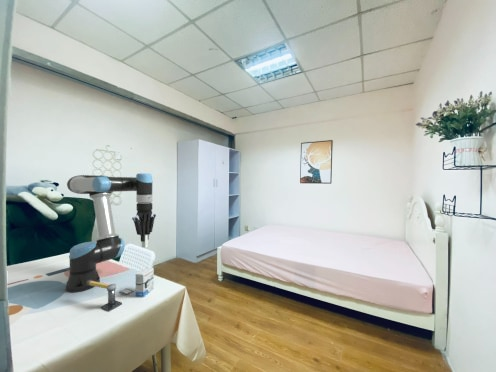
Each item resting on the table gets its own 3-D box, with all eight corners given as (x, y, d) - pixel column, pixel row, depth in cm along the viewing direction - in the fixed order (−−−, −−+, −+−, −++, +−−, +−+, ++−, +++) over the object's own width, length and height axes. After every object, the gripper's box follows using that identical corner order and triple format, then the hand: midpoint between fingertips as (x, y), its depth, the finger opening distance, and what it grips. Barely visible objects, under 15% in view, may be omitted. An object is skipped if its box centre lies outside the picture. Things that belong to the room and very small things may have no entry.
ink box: (143, 297, 105) (143, 274, 104) (135, 296, 106) (134, 273, 105) (154, 288, 113) (154, 267, 113) (146, 288, 114) (146, 267, 114)
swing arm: (110, 292, 95) (110, 287, 95) (83, 286, 100) (83, 282, 100) (117, 288, 98) (117, 284, 98) (91, 282, 103) (91, 278, 103)
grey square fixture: (101, 308, 96) (100, 291, 95) (113, 301, 101) (113, 285, 101) (109, 311, 93) (109, 294, 93) (122, 304, 99) (121, 287, 98)
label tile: (119, 293, 109) (119, 291, 109) (126, 289, 112) (126, 288, 112) (126, 295, 106) (126, 294, 106) (133, 291, 110) (133, 290, 110)
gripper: (138, 204, 101) (138, 251, 101) (159, 201, 113) (159, 244, 113) (128, 203, 104) (128, 249, 104) (149, 201, 116) (149, 242, 116)
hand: (144, 246), depth 109 cm, fingers closed
